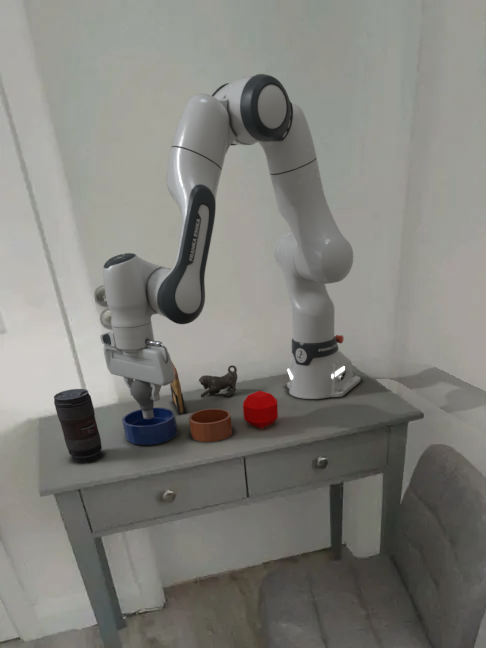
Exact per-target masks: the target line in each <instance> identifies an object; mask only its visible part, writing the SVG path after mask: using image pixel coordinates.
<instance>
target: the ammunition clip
mask: <svg viewBox="0 0 486 648" xmlns="http://www.w3.org/2000/svg"><path fill="white" fill-rule="evenodd" d="M171 362H172V365H173V370H174V375H175V379H174V381H173V383H171V384H169V385H170V392H171V393H170V394H171V399H172V400H171V401H172V403H173V406H174V408H175V410H176V412H177V414H178V415H182V414H186V408H185V401H184V395H183V392H182V387H181V382H180V378H179V374H178V369H177V368H176V366H175V364H174V362H173V360H171Z"/></svg>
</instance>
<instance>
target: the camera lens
mask: <svg viewBox="0 0 486 648" xmlns="http://www.w3.org/2000/svg"><path fill="white" fill-rule="evenodd" d="M53 399H54V400H53V404H54V407H55V411H56V415H57V418H58V421H59V423H60V426H61V430H62V433H63V439H64V442H65V446H66V448H67V451H68V454H69V455H70V456H71V458H72V459H71V460H72V461H73V462H75V463H77V464H86V463H92V462H95V461H97V460H99V459H100V458H101V457H102V449H103V446H102V439H101V435H100V431H99V428H98V424H97V419H96V413H95V408H94V404H93V401H92V396H91V394H90V393H89V390H88V389H85V388H71V389H67V390H63V391H60V392H57V393H56V394H55V395H54V396H53Z"/></svg>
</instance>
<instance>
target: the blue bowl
mask: <svg viewBox="0 0 486 648" xmlns="http://www.w3.org/2000/svg"><path fill="white" fill-rule="evenodd" d="M153 414H154V417H153V418H152V419H149V420H147V419H145V418H144V417H143V412H142V410H141V408H139V409H136V410H133V411H131V412H128V413H127V414H126V415H124V416H123V417H122V418H121V422H122V426H123V431H124V437H125V439H126V441H127V442H129V443H130V444H134V445H139V446H151V445H152V446H153V445H158V444H162V443H165V442H167V441H170V440H172V439H173V438H175V437H176V436H177V435H178V433H179V430H178V424H177V417H176V413H175V411H174V410H173V409H171V408H167V407H160V406H159V407H158V406H157V407H153Z"/></svg>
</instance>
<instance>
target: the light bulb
mask: <svg viewBox="0 0 486 648" xmlns="http://www.w3.org/2000/svg"><path fill="white" fill-rule="evenodd" d="M152 389H153V387H151V385H150V383H148V382H144V381H140V380H135V379H134V382H133V383H132V386H131V393H132V395H131V396H132V398H133V399H134V400H135V401H136V402H137V404H138V406H139V409H141V410H142V412H143V417H144V418H145V419H147V420H149V419H152V418H153V417H154V414H153V407H154V402H155V401H152V400H151V399H150V393H152Z"/></svg>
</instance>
